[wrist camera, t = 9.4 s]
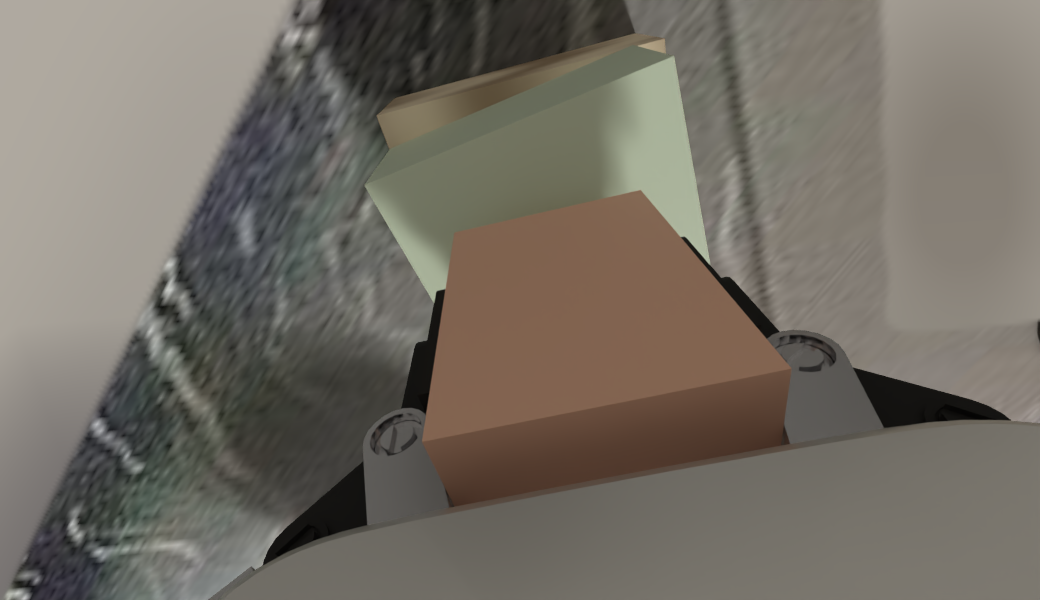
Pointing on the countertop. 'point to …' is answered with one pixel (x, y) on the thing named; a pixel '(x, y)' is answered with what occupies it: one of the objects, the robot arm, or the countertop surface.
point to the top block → (544, 159)
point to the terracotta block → (591, 355)
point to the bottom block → (490, 89)
